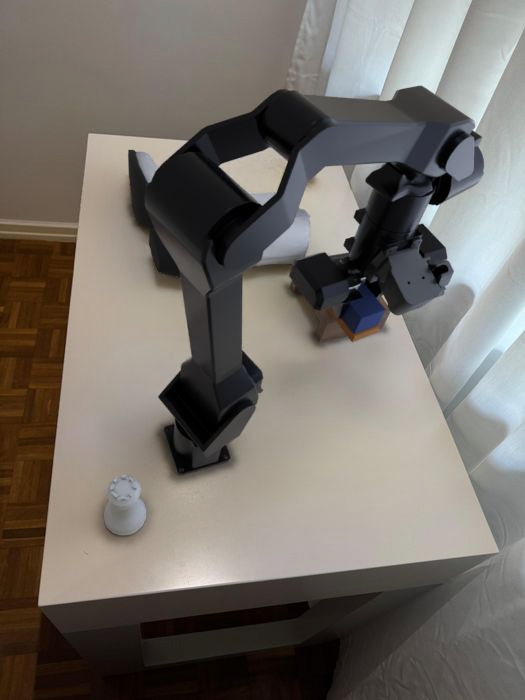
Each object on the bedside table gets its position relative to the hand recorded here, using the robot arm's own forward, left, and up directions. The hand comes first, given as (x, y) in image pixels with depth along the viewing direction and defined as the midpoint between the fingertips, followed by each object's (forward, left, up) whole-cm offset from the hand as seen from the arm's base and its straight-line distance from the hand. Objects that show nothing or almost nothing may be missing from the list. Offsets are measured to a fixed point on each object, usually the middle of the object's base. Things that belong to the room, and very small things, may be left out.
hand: (350, 311), depth 72 cm
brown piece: (+9, -5, -10) cm, 14 cm away
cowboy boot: (+30, +7, -11) cm, 32 cm away
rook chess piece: (-13, +32, -11) cm, 36 cm away
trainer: (+1, 0, -1) cm, 1 cm away
